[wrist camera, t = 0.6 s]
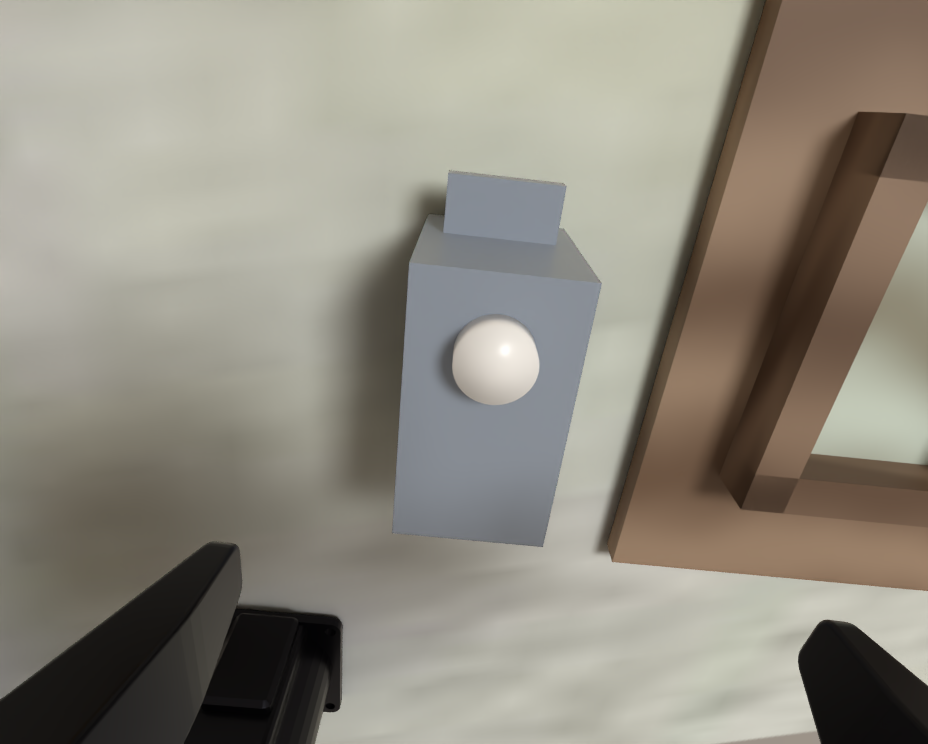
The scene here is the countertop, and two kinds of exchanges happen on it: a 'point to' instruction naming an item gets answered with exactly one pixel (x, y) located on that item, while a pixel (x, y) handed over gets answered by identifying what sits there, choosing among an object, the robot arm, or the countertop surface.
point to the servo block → (490, 362)
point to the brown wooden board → (802, 320)
